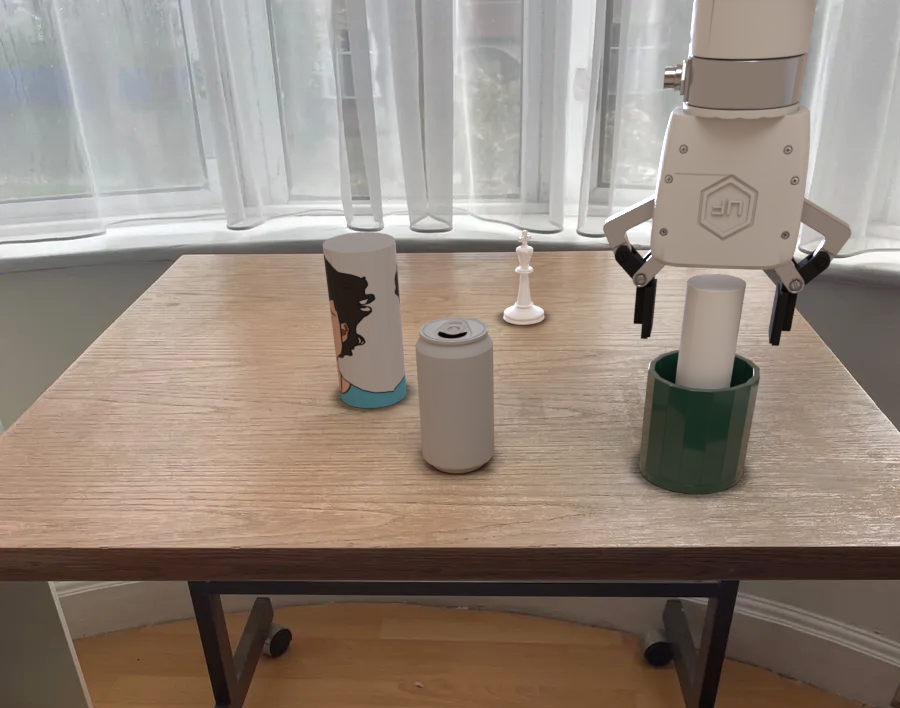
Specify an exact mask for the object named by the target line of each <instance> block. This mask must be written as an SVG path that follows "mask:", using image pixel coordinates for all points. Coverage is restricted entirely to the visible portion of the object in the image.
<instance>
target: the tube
mask: <svg viewBox="0 0 900 708" xmlns="http://www.w3.org/2000/svg"><path fill="white" fill-rule="evenodd" d="M746 288H747V282H746V281H745V280H744V279H742V278H740V277H739V276H734V275H731V274H723V273H703V274H698V275H694V276H692V277H690V278H688V279H687V281H686V289H685V297H684V306H683V313H682V314H683V316H682V321H681V322H682V323H681V331H680V332H681V333H680V340H679V348H678V350H679V356H678V364H677V373H676V381H675V384H677V385H681V386H685V387H690V388H699V389H721V388H730V383H731V377H732V370H733V364H734V358H735V354H736V351H737V345H738V337H739V331H740V325H741V319H742V312H743V307H744V302H745V301H744V300H745V295H746V294H745V293H746Z"/></svg>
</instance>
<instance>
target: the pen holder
mask: <svg viewBox="0 0 900 708" xmlns="http://www.w3.org/2000/svg"><path fill="white" fill-rule="evenodd" d="M678 356H679V349H676V350H671V351H668V352H664V353H661V354H658V355H657V356H656V357H654V358H653V359H651V360H650V361H649V364H648V367H647V368H648V369H647V378H646V388H645V398H644V409H643V419H642V429H641V437H640V438H641V439H640V449H639V458H638V459H639V461H638V462H639V464H638V467H639V472H640V474H641V475H642V476H643V477H644V478H645V479H646V480H647V481H648V482H650V483H652V484H653V485H655V486H657V487H659V488H661V489H664V490H667V491H671V492H677V493H682V494H693V495H704V494H714V493H717V492H721V491H725V490H727V489H730V488H732V487H733V486H735V485H736V484H737V483H739V481H740V480H741V478H742V476H743V471H744V469H745V464H746V457H747V454H748V453H747V452H748V446H749V441H750V435H751V429H752V424H753V419H754V413H755V407H756V401H757V395H758V391H759V384H760V380H761V379H760V378H761V370H760V367H759V366H758V365H757V364H756V363H754V361H752V360H751V359H750V358H747V357H744V356H742V355H740V354H737V353H735V358H734V364H733V370H732V377H731V383H730V388H721V389H699V388H690V387H685V386H681V385H677V384H675V381H676V373H677V364H678Z"/></svg>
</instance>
